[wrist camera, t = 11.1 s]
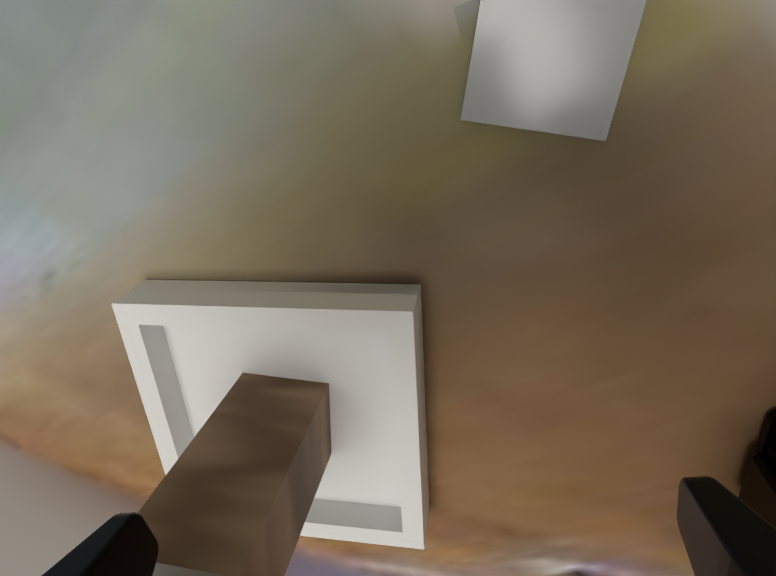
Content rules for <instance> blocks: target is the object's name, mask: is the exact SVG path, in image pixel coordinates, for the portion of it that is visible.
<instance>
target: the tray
mask: <svg viewBox="0 0 776 576" xmlns="http://www.w3.org/2000/svg"><path fill="white" fill-rule="evenodd" d="M111 304H112V307H113V310H114V313H115V316H116V320H117V323H118V326H119V329H120V332H121V335H122V339H123V342H124V345H125V348H126V351H127V354H128V358H129V361H130V364H131V367H132V370H133V373H134V377H135V380H136V383H137V386H138V389H139V392H140V395H141V399H142V402H143V405H144V408H145V411H146V414H147V418H148V421H149V424H150V427H151V430H152V433H153V437H154V440H155V443H156V446H157V449H158V452H159V456H160V459H161V462H162V465H163V468H164V471H165V474H166V475H167V473H168V472H169V471H170V469H171V468H172V467H173V465H174V464H175V463H176V461H177V460H178V458H179V457H180V456H181V454H182V453H183V452H184V450H185V449H186V448H187V446H188V445H189V444H190V442H191V441H192V440H193V438H194V437H195V436H196V434H197V433H198V432H199V430H200V429H201V428H202V426H203V425H204V424H205V422H206V421H207V420H208V418H209V417H210V416H211V414H212V413H213V412H214V410H215V409H216V408H217V406H218V405H219V404H220V402H221V401H222V400H223V398H224V397H225V396H226V394H227V393H228V392H229V390H230V389H231V388H232V386H233V385H234V384H235V382H236V381H237V380H238V378H239V377H240V376H241V374H242V373H250V374H258V375H266V376H274V377H282V378H290V379H298V380H306V381H314V382H322V383H329V397H330V426H331V456H330V458H329V461H328V464H327V466H326V469H325V471H324V474H323V477H322V479H321V482H320V484H319V487H318V490H317V492H316V495H315V497H314V500H313V502H312V505H311V508H310V510H309V513H308V515H307V518H306V521H305V523H304V526H303V528H302V531H301V534H300V536H309V537H318V538H326V539H335V540H344V541H353V542H362V543H371V544H380V545H389V546H398V547H407V548H416V549H424V546H425V538H426V531H427V523H428V515H429V484H428V458H427V432H426V406H425V380H424V354H423V328H422V302H421V284H368V283H310V282H253V281H196V280H145V281H143V282H142V283H140V284H139V285H137V286H136V287H134V288H133V289H132V290H130V291H129V292H127V293H126V294H124V295H123V296H121V297H120V298H119V299H117V300H116V301H114V302H113V303H111Z"/></svg>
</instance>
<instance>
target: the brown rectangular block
mask: <svg viewBox="0 0 776 576" xmlns="http://www.w3.org/2000/svg"><path fill="white" fill-rule="evenodd" d="M330 456H331V426H330V397H329V383H322V382H314V381H306V380H298V379H290V378H282V377H274V376H266V375H258V374H250V373H242V374H241V376H240V377H239V378H238V380H237V381H236V382H235V384H234V385H233V386H232V388H231V389H230V390H229V392H228V393H227V394H226V396H225V397H224V398H223V400H222V401H221V402H220V404H219V405H218V406H217V408H216V409H215V410H214V412H213V413H212V414H211V416H210V417H209V418H208V420H207V421H206V422H205V424H204V425H203V426H202V428H201V429H200V430H199V432H198V433H197V434H196V436H195V437H194V438H193V440H192V441H191V442H190V444H189V445H188V446H187V448H186V449H185V450H184V452H183V453H182V454H181V456H180V457H179V458H178V460H177V461H176V463H175V464H174V465H173V467H172V468H171V469H170V471H169V472H168V473H167V475H166V476H165V477H164V479H163V480H162V481H161V483H160V484H159V485H158V487H157V488H156V489H155V491H154V492H153V493H152V495H151V496H150V497H149V499H148V500H147V501H146V503H145V504H144V505H143V507H142V508H141V509H140V511H139V512H138V513H140V514H141V515H142V516H143V517H144V519H145V520H146V522H147V524H148V525H149V527H150V529H151V530H152V532H153V534H154V535H155V537H156V538H157V540H158V544H159V554H158V558H157V562H156V565H155V569H154V572H153V576H284V575H285V572H286V570H287V567H288V565H289V562H290V559H291V557H292V554H293V552H294V549H295V546H296V544H297V541H298V539H299V536H300V534H301V531H302V528H303V526H304V523H305V521H306V518H307V515H308V513H309V510H310V508H311V505H312V502H313V500H314V497H315V495H316V492H317V490H318V487H319V484H320V482H321V479H322V477H323V474H324V471H325V469H326V466H327V464H328V461H329V458H330Z"/></svg>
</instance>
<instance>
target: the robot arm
mask: <svg viewBox="0 0 776 576" xmlns="http://www.w3.org/2000/svg"><path fill="white" fill-rule="evenodd" d="M677 521H678V526H679V530H680V533H681V536H682V539H683V542H684V545H685V548H686V551H687V553H688V556H689V559H690V562H691V565H692V568H693V571H694V574H695V576H776V410H774V411H772V412H770V413H769V414H768V415H767V417H766V418H765V422H764V425H763V428H762V432H761V435H760V438H759V442H758V445H757V448H756V452H755V453H754V454H753V455H752V456H751V458H750V461H749V464H748V468H747V471H746V474H745V478H744V481H743V484H742V488H741V491H740V494H739V498H738V497H737V496H735V495H734V494H733V493H732V492H730V491H729V490H728V489H727V488H725V487H724V486H723V485H722V484H720V483H719V482H718V481H717V480H715V479H714V478H711V477H709V476H700V477H685V478H683V479H681V481H680V484H679V494H678V506H677ZM158 554H159V544H158V540H157V538H156V537H155V535H154V534H153V532H152V530H151V529H150V527H149V525H148V524H147V522H146V520H145V519H144V517H143V516H142V515H141V514H140V513H136V512H134V513H133V512H132V513H120V514H117V515H114V516H113V517H112V518H110V519H109V520H108V521H107V522H105V523H104V524H103V525H102V526H101V527H100V528H98V529H97V530H96V531H95V532H94V533H92V534H91V535H90V536H89V537H88V538H86V539H85V540H84V541H83V542H81V543H80V544H79V545H78V546H77V547H76V548H74V549H73V550H72V551H71V552H70V553H68V554H67V555H66V556H65V557H64V558H62V559H61V560H60V561H59V562H58V563H56V564H55V565H54V566H53V567H52V568H50V569H49V570H48V571H47V572H46V573H44V574H43V575H42V576H153V572H154V569H155V565H156V562H157V558H158Z"/></svg>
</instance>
